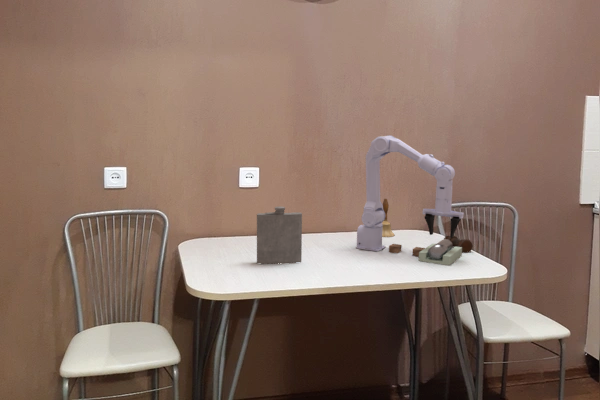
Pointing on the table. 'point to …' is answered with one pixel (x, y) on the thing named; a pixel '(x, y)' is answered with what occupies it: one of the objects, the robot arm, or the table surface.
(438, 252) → the axle
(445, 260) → the pale green channelled slab
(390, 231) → the hand bell
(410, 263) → the table surface
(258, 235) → the hip flask
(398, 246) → the bearing block
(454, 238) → the bolt
